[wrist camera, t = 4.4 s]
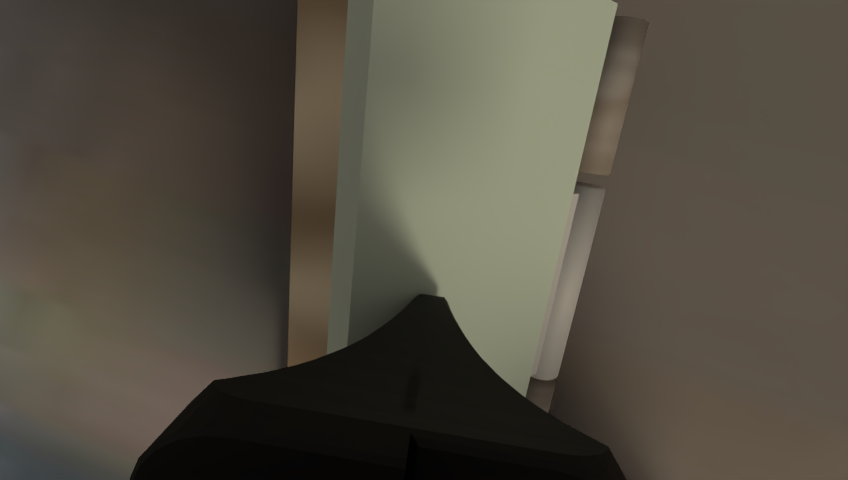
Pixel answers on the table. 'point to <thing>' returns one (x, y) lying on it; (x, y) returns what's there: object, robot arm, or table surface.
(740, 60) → the table surface
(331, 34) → the base leaf
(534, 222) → the hinge leaf
